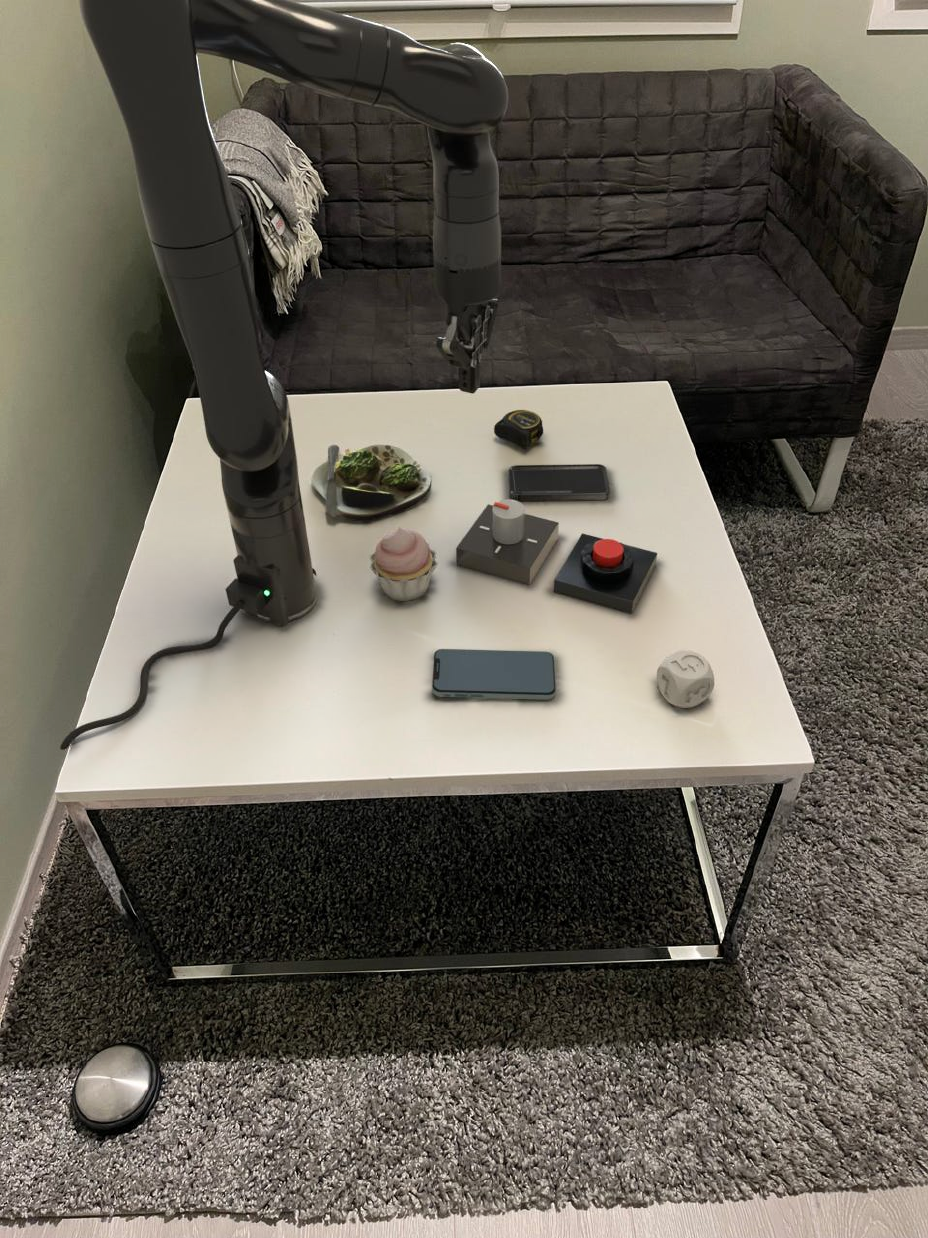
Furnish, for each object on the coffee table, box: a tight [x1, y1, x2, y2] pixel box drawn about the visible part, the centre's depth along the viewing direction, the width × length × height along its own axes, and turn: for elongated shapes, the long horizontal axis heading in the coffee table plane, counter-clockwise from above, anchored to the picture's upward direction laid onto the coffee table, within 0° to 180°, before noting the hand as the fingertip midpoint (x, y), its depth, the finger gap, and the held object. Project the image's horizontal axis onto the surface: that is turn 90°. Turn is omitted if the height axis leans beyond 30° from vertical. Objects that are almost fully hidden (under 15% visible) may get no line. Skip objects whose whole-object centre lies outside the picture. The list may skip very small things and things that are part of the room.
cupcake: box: [368, 527, 439, 602], centre depth 135 cm, size 9×9×10 cm
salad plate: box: [310, 443, 433, 522], centre depth 155 cm, size 19×18×5 cm
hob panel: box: [455, 503, 560, 586], centre depth 142 cm, size 11×11×3 cm
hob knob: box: [492, 498, 526, 545], centre depth 140 cm, size 4×4×5 cm
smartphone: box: [431, 648, 557, 701], centre depth 125 cm, size 8×2×15 cm
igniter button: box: [593, 538, 623, 567], centre depth 136 cm, size 4×4×2 cm
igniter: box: [553, 533, 658, 615], centre depth 138 cm, size 11×11×4 cm
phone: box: [508, 463, 611, 502], centre depth 154 cm, size 8×1×15 cm
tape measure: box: [493, 409, 544, 450], centre depth 163 cm, size 7×7×4 cm
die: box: [656, 649, 715, 709], centre depth 122 cm, size 5×5×5 cm
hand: (469, 389), depth 124 cm, fingers closed
